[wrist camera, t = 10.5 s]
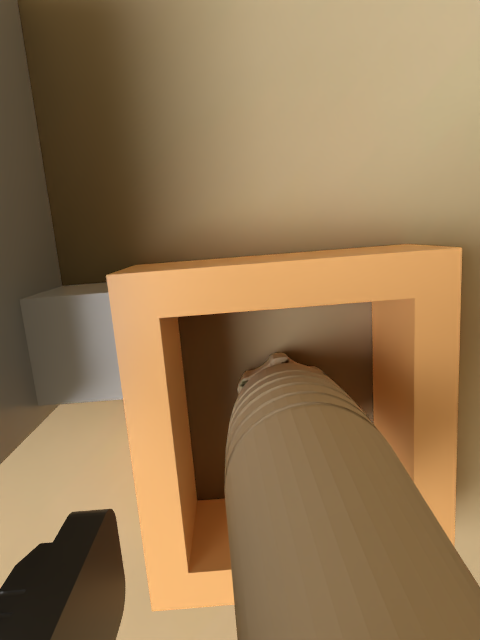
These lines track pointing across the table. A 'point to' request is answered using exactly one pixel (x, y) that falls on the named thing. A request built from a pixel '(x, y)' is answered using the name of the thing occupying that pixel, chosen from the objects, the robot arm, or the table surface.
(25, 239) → the chair with orange tray
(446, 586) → the handle
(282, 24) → the table surface
